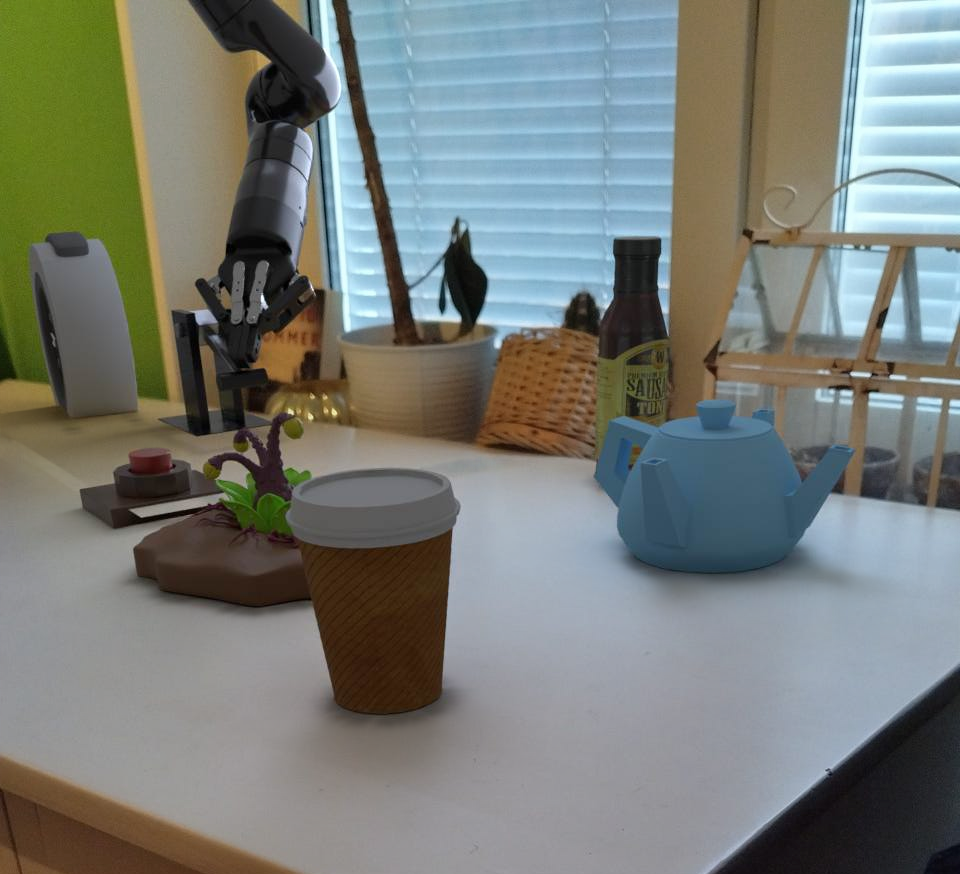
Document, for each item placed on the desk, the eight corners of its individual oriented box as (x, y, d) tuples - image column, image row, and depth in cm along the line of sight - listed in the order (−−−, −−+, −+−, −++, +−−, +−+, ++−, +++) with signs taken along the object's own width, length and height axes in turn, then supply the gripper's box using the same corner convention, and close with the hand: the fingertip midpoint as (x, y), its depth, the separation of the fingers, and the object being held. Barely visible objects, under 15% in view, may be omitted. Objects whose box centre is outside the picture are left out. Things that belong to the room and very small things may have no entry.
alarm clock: (52, 405, 164) (18, 229, 154) (113, 398, 166) (83, 225, 156) (78, 435, 146) (41, 240, 137) (145, 427, 149) (114, 234, 139)
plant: (264, 623, 88) (243, 453, 83) (101, 572, 100) (73, 421, 95) (467, 552, 101) (460, 401, 95) (301, 515, 113) (286, 378, 107)
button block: (114, 529, 111) (106, 487, 109) (82, 508, 118) (75, 468, 116) (235, 507, 116) (230, 466, 114) (198, 487, 123) (192, 449, 121)
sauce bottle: (630, 490, 115) (634, 241, 106) (580, 479, 120) (579, 239, 110) (680, 476, 119) (688, 234, 109) (629, 466, 123) (633, 232, 114)
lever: (267, 391, 135) (268, 370, 133) (222, 397, 133) (222, 376, 131) (220, 328, 141) (220, 307, 139) (175, 334, 139) (175, 312, 137)
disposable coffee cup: (336, 739, 71) (313, 519, 65) (287, 681, 79) (262, 480, 73) (496, 705, 74) (487, 492, 69) (433, 653, 82) (421, 458, 76)
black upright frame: (278, 437, 141) (263, 309, 135) (199, 450, 137) (180, 319, 131) (235, 421, 150) (219, 300, 144) (159, 432, 146) (140, 308, 140)
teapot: (772, 515, 107) (781, 375, 101) (849, 568, 94) (864, 411, 88) (588, 532, 105) (588, 391, 99) (642, 589, 92) (645, 429, 86)
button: (139, 479, 113) (136, 458, 112) (126, 472, 116) (122, 451, 115) (179, 472, 115) (176, 452, 114) (165, 465, 118) (162, 445, 117)
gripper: (195, 195, 135) (165, 340, 130) (318, 190, 132) (291, 338, 128) (222, 247, 142) (194, 386, 137) (339, 243, 139) (314, 385, 135)
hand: (241, 363), depth 132 cm, fingers closed
